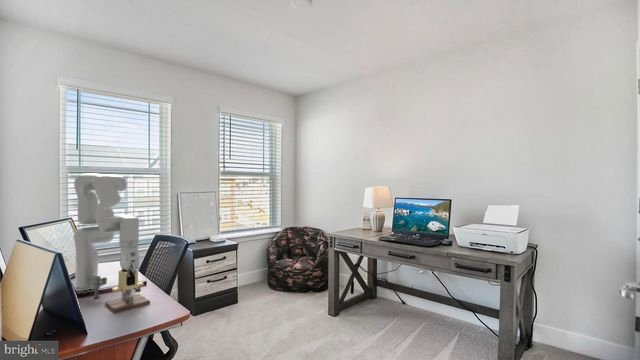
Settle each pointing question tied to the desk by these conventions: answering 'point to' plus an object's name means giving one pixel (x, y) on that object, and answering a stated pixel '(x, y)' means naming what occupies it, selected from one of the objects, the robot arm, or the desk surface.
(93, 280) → the mechanical component
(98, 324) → the desk surface
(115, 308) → the post dock
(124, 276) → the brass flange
